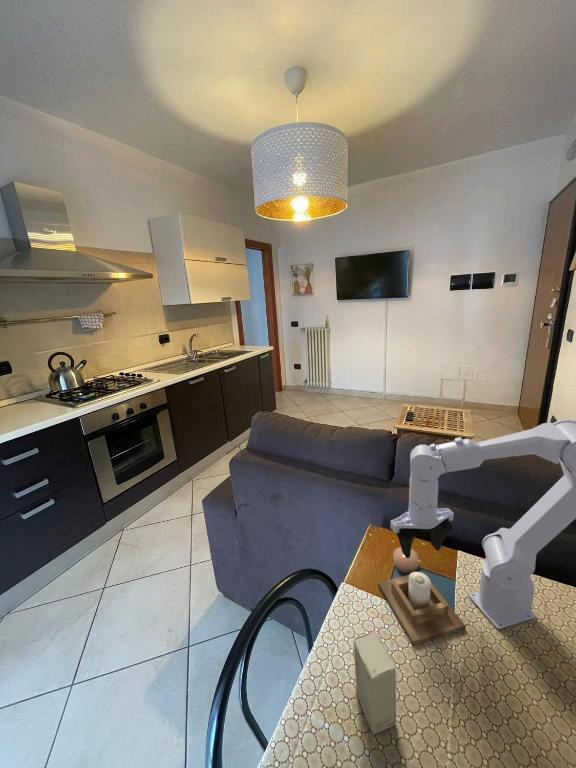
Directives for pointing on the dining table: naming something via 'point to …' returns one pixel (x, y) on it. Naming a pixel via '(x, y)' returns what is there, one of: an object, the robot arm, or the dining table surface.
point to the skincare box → (375, 682)
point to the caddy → (420, 612)
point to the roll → (419, 590)
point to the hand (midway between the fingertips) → (420, 551)
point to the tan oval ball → (405, 561)
